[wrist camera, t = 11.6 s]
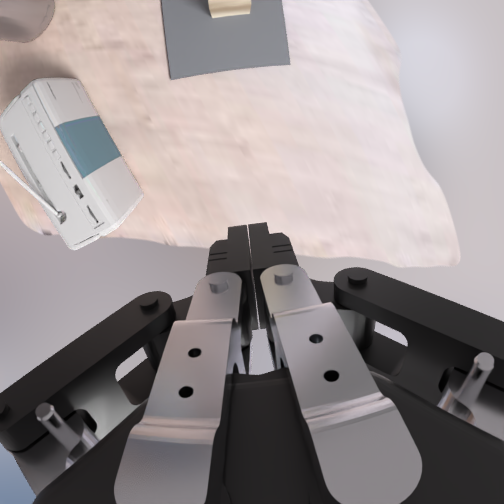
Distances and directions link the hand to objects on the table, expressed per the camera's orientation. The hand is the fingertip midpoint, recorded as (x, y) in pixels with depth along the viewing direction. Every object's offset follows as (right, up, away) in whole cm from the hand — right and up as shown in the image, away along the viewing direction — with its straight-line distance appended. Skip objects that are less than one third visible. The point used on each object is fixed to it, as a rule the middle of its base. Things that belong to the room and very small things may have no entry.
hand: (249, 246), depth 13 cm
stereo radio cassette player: (-23, +15, +28) cm, 40 cm away
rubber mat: (-4, +34, +20) cm, 39 cm away
